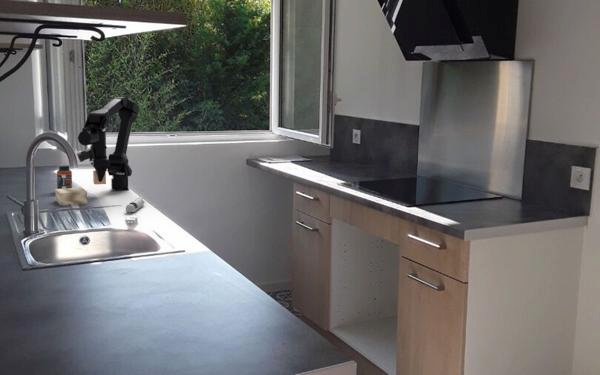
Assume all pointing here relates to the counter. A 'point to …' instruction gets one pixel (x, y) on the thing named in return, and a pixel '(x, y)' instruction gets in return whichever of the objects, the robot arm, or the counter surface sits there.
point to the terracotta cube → (95, 178)
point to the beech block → (71, 196)
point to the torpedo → (135, 205)
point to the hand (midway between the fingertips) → (99, 180)
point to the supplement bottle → (64, 177)
